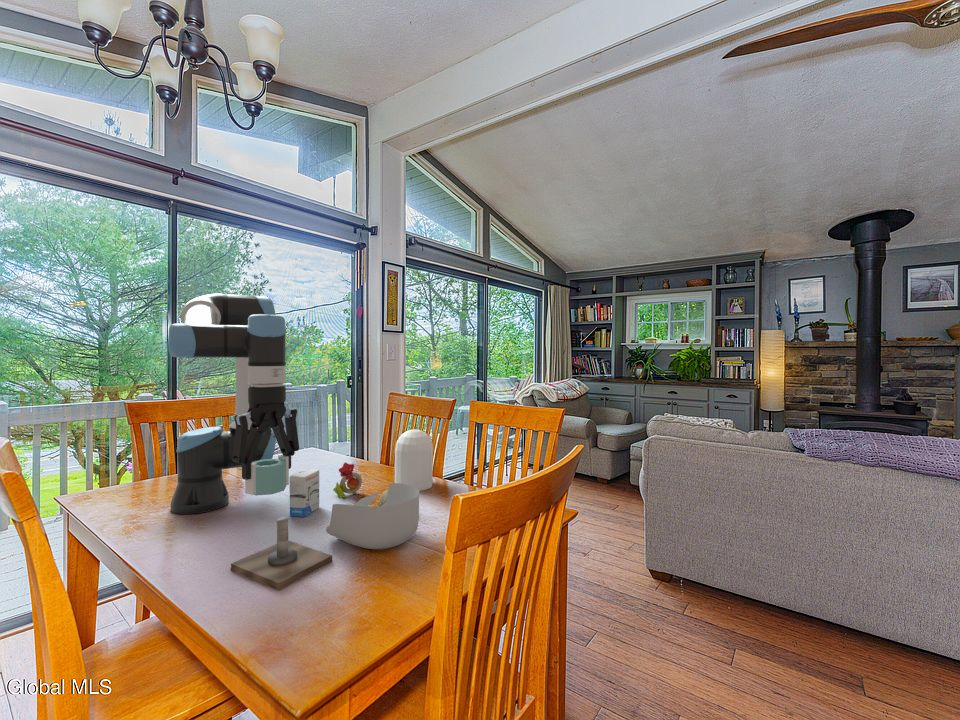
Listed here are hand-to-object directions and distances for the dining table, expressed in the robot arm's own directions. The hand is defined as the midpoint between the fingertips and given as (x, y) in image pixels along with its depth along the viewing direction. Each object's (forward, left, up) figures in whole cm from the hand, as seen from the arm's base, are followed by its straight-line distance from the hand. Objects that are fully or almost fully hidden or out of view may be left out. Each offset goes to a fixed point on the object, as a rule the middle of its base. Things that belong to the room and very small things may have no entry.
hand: (267, 488), depth 100 cm
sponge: (+2, +40, -18) cm, 44 cm away
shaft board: (+2, +2, -18) cm, 18 cm away
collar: (0, 0, 0) cm, 0 cm away
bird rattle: (-21, +44, -18) cm, 52 cm away
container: (-9, +64, -18) cm, 67 cm away
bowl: (+11, +24, -18) cm, 32 cm away
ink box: (-21, +27, -18) cm, 39 cm away
